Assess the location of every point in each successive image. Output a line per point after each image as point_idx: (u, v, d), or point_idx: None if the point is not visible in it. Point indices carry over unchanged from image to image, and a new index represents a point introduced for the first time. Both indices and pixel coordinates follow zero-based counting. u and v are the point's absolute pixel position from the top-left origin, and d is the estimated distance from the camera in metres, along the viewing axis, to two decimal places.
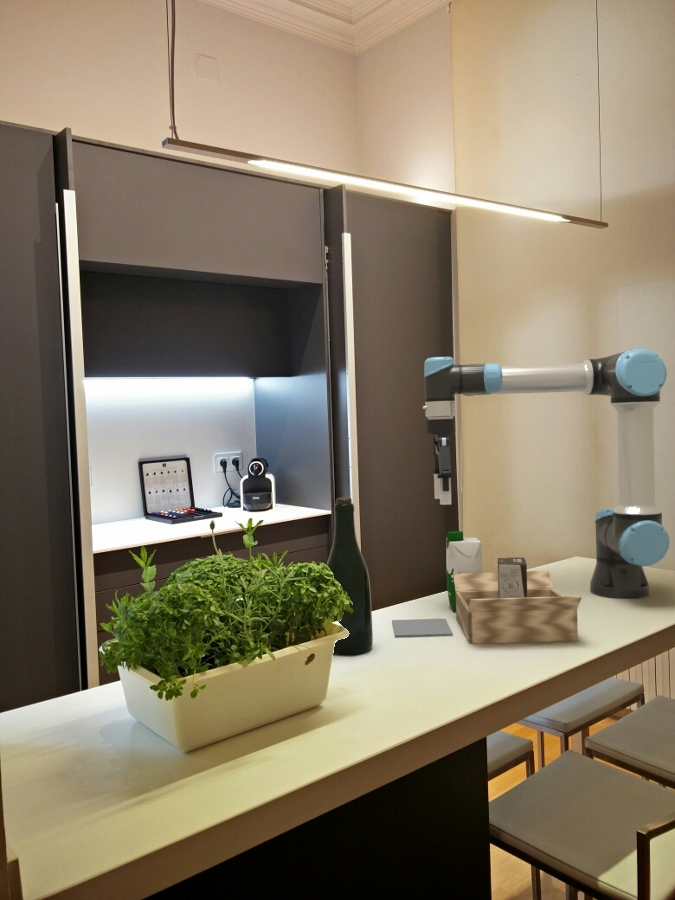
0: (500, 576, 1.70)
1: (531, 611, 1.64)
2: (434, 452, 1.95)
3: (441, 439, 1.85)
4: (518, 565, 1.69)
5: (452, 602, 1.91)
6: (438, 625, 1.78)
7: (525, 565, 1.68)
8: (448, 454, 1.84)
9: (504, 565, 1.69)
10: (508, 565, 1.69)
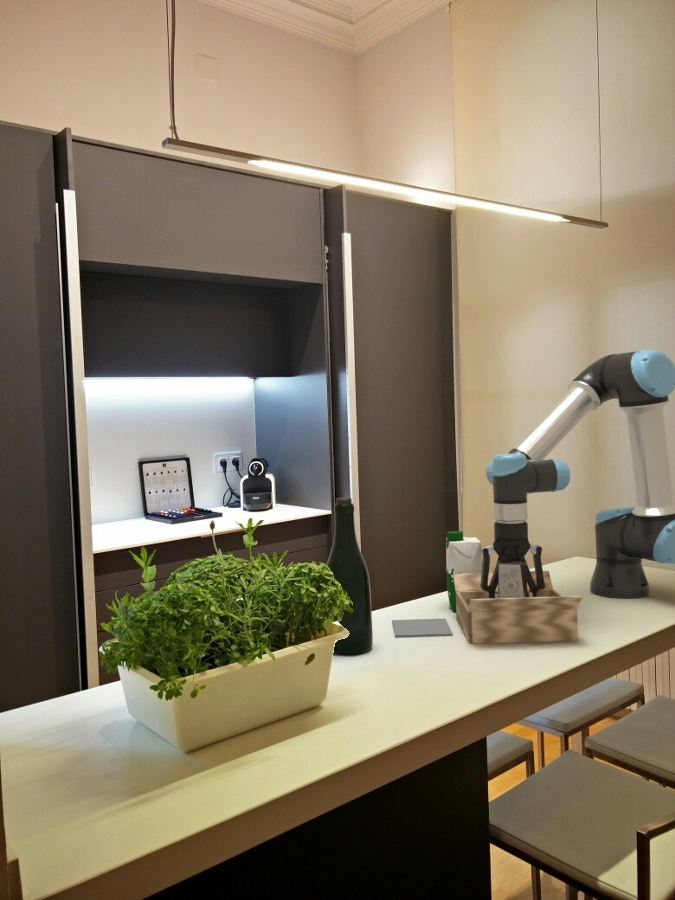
0: (500, 576, 1.70)
1: (531, 611, 1.64)
2: None
3: (481, 549, 1.74)
4: (518, 565, 1.69)
5: (452, 602, 1.91)
6: (438, 625, 1.78)
7: (525, 565, 1.68)
8: (483, 567, 1.72)
9: (504, 565, 1.69)
10: (508, 565, 1.69)
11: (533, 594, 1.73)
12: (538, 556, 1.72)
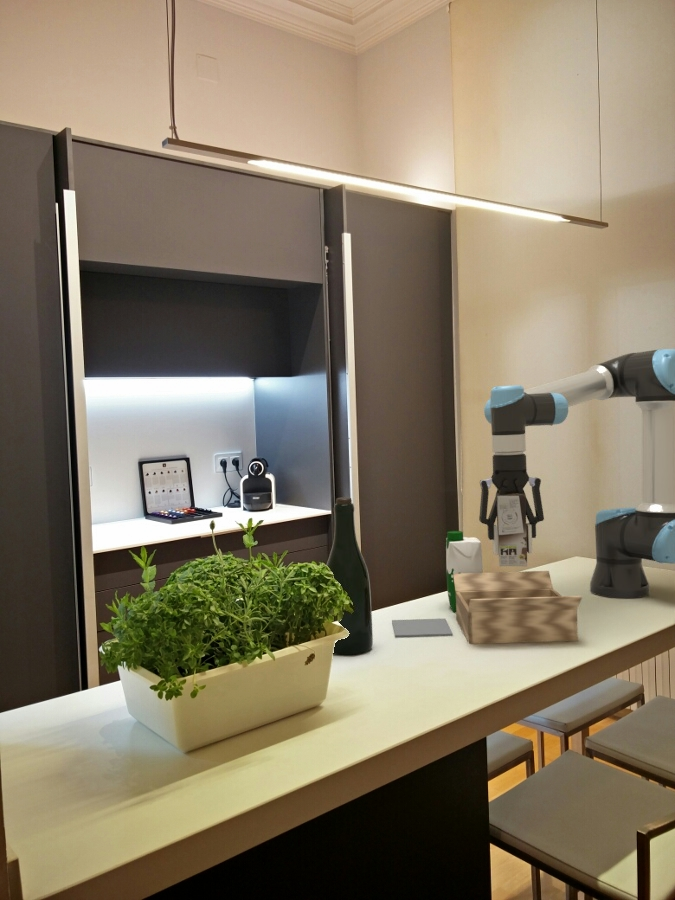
0: (499, 507, 1.69)
1: (531, 611, 1.64)
2: None
3: (480, 482, 1.73)
4: (517, 496, 1.68)
5: (452, 602, 1.91)
6: (438, 625, 1.78)
7: (524, 496, 1.68)
8: (482, 500, 1.72)
9: (503, 496, 1.69)
10: (507, 496, 1.69)
11: (533, 527, 1.72)
12: (537, 488, 1.71)
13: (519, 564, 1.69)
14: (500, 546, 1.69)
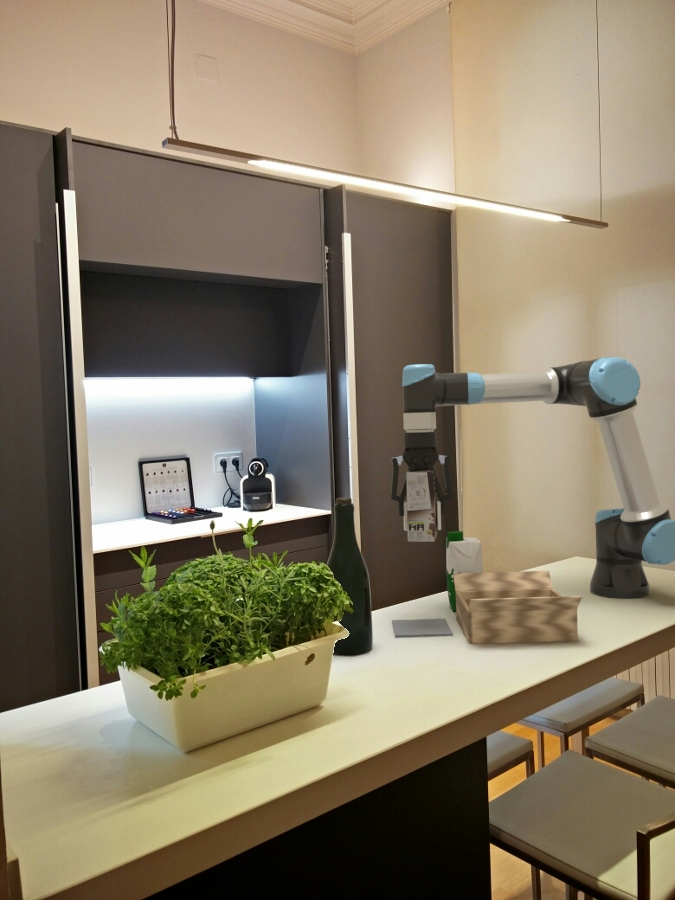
0: (407, 484, 1.72)
1: (531, 611, 1.64)
2: None
3: (391, 459, 1.76)
4: (425, 472, 1.71)
5: (452, 602, 1.91)
6: (438, 625, 1.78)
7: (432, 472, 1.71)
8: (392, 476, 1.75)
9: (411, 473, 1.72)
10: (415, 473, 1.71)
11: (442, 504, 1.75)
12: (446, 465, 1.74)
13: (426, 539, 1.71)
14: (408, 522, 1.72)
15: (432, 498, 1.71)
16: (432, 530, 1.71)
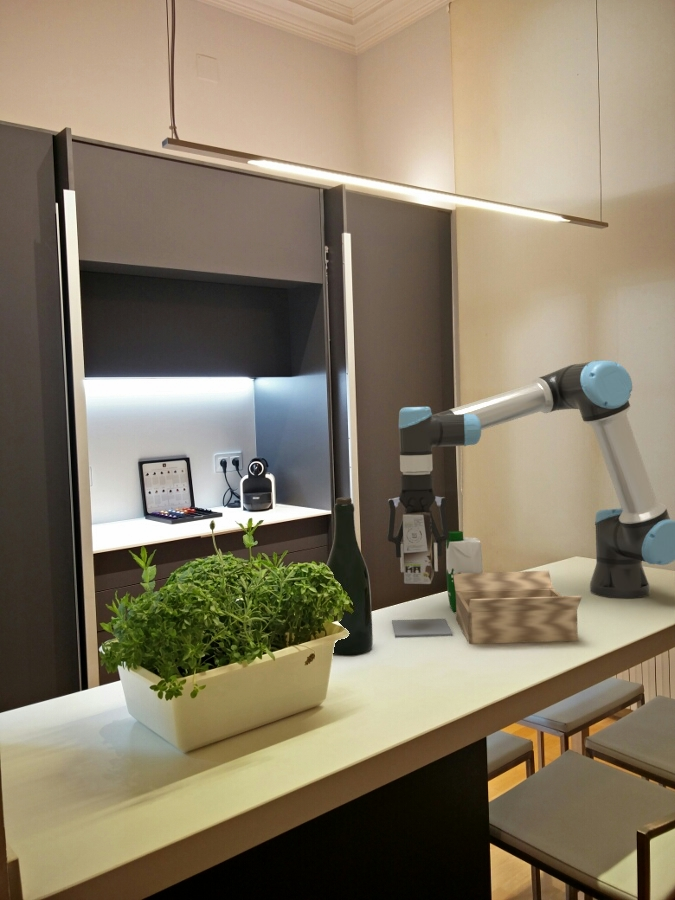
0: (404, 526, 1.72)
1: (531, 611, 1.64)
2: None
3: (388, 501, 1.77)
4: (421, 515, 1.72)
5: (452, 602, 1.91)
6: (438, 625, 1.78)
7: (428, 515, 1.71)
8: (389, 518, 1.75)
9: (408, 515, 1.72)
10: (412, 515, 1.72)
11: (439, 545, 1.76)
12: (443, 507, 1.75)
13: (423, 582, 1.72)
14: (405, 564, 1.73)
15: (428, 540, 1.71)
16: (428, 572, 1.72)
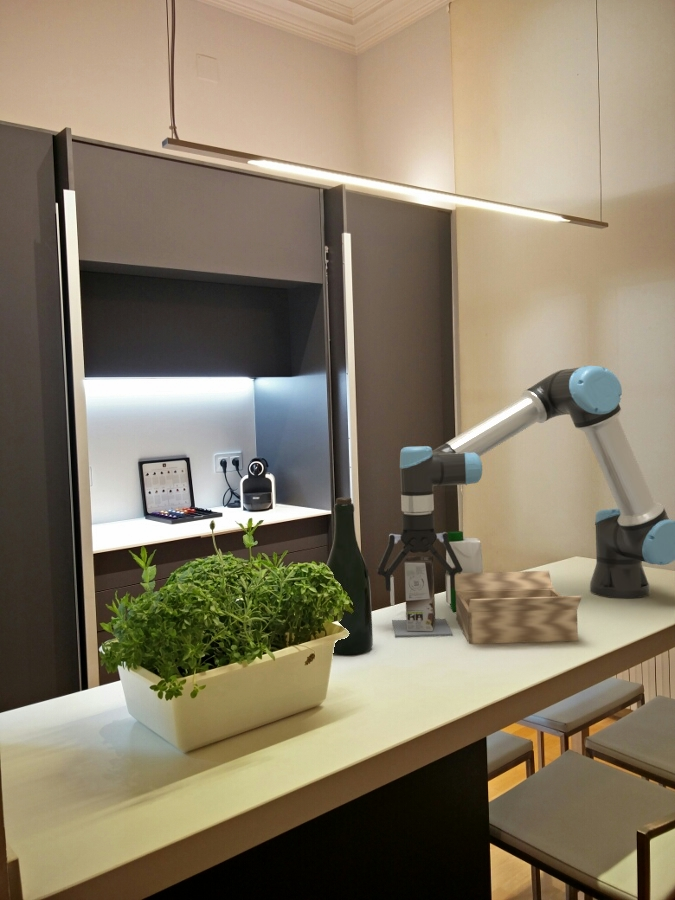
0: (406, 574, 1.73)
1: (531, 611, 1.64)
2: None
3: (389, 535, 1.77)
4: (423, 563, 1.72)
5: (452, 602, 1.91)
6: (438, 625, 1.78)
7: (430, 563, 1.72)
8: (385, 552, 1.76)
9: (410, 563, 1.73)
10: (413, 563, 1.72)
11: (451, 578, 1.76)
12: (446, 542, 1.75)
13: (425, 629, 1.72)
14: (407, 611, 1.73)
15: (430, 588, 1.72)
16: (431, 620, 1.72)
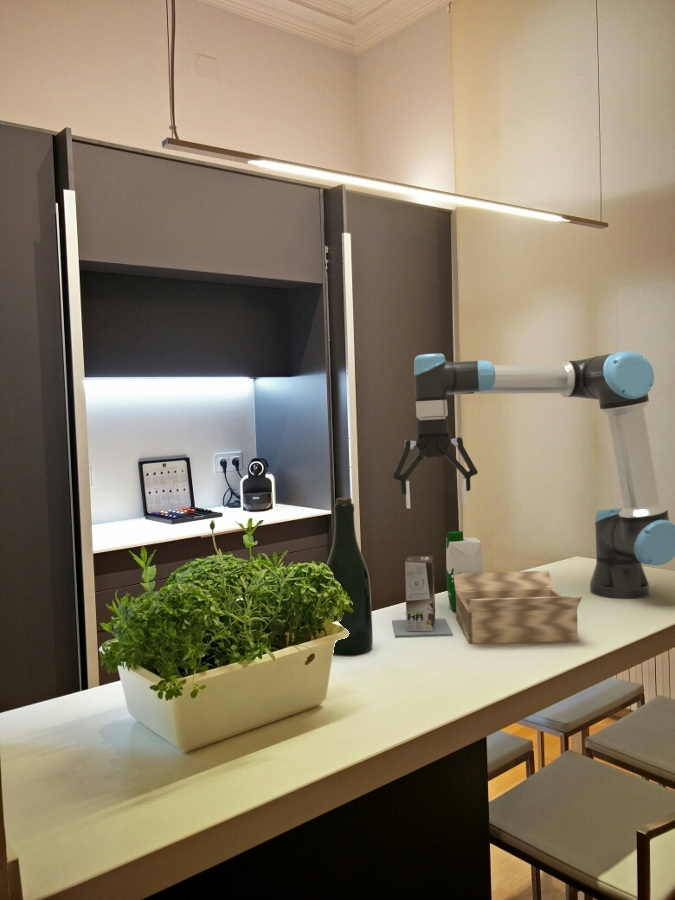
0: (406, 574, 1.73)
1: (531, 611, 1.64)
2: None
3: (405, 441, 1.82)
4: (423, 563, 1.72)
5: (452, 602, 1.91)
6: (438, 625, 1.78)
7: (430, 563, 1.72)
8: (401, 457, 1.81)
9: (410, 563, 1.73)
10: (414, 563, 1.72)
11: (467, 480, 1.81)
12: (461, 446, 1.81)
13: (425, 629, 1.72)
14: (407, 611, 1.73)
15: (431, 588, 1.72)
16: (431, 620, 1.72)
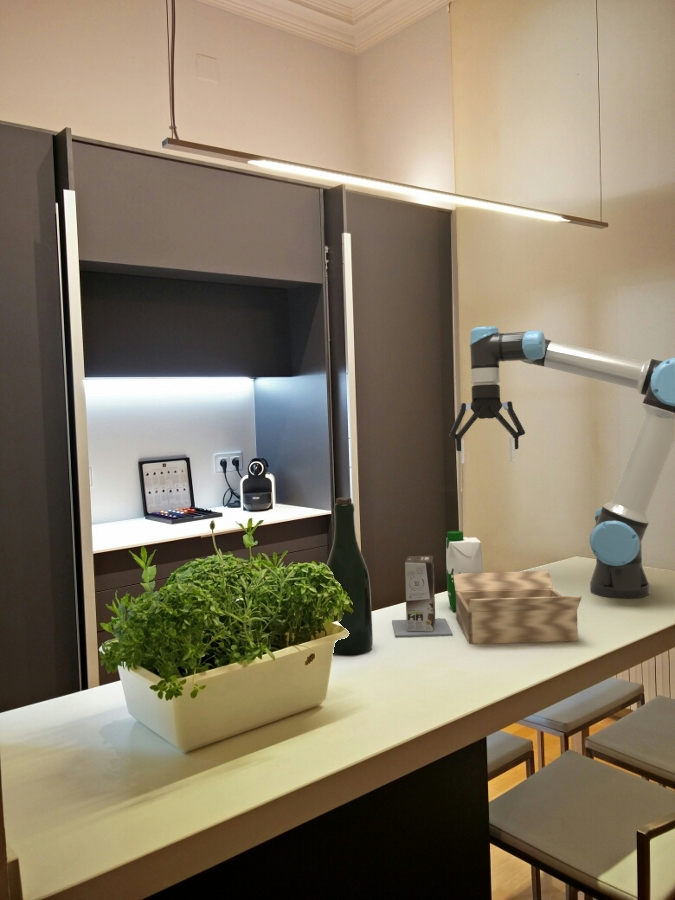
0: (406, 574, 1.73)
1: (531, 611, 1.64)
2: None
3: (461, 404, 2.05)
4: (423, 563, 1.72)
5: (452, 602, 1.91)
6: (438, 625, 1.78)
7: (430, 563, 1.72)
8: (457, 418, 2.04)
9: (410, 563, 1.73)
10: (414, 563, 1.72)
11: (515, 440, 2.04)
12: (511, 409, 2.03)
13: (425, 629, 1.72)
14: (407, 611, 1.73)
15: (431, 588, 1.72)
16: (431, 620, 1.72)
